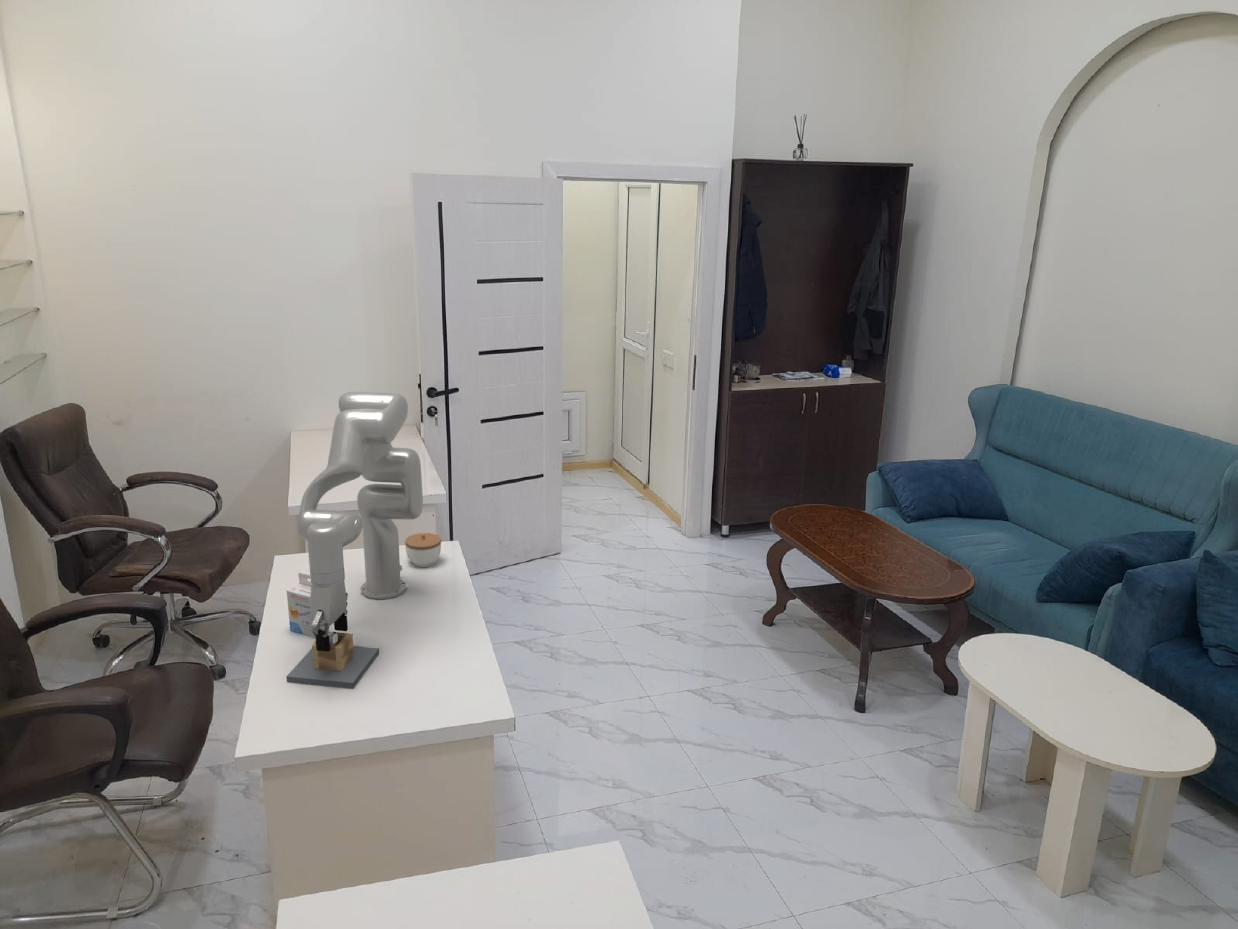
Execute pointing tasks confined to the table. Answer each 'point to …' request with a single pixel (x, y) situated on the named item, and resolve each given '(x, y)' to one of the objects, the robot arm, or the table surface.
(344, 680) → the slate board
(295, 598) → the ink box
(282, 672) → the table surface
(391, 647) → the table surface
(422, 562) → the lidded jar
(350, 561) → the table surface
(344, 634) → the oak frame
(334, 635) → the metal post
